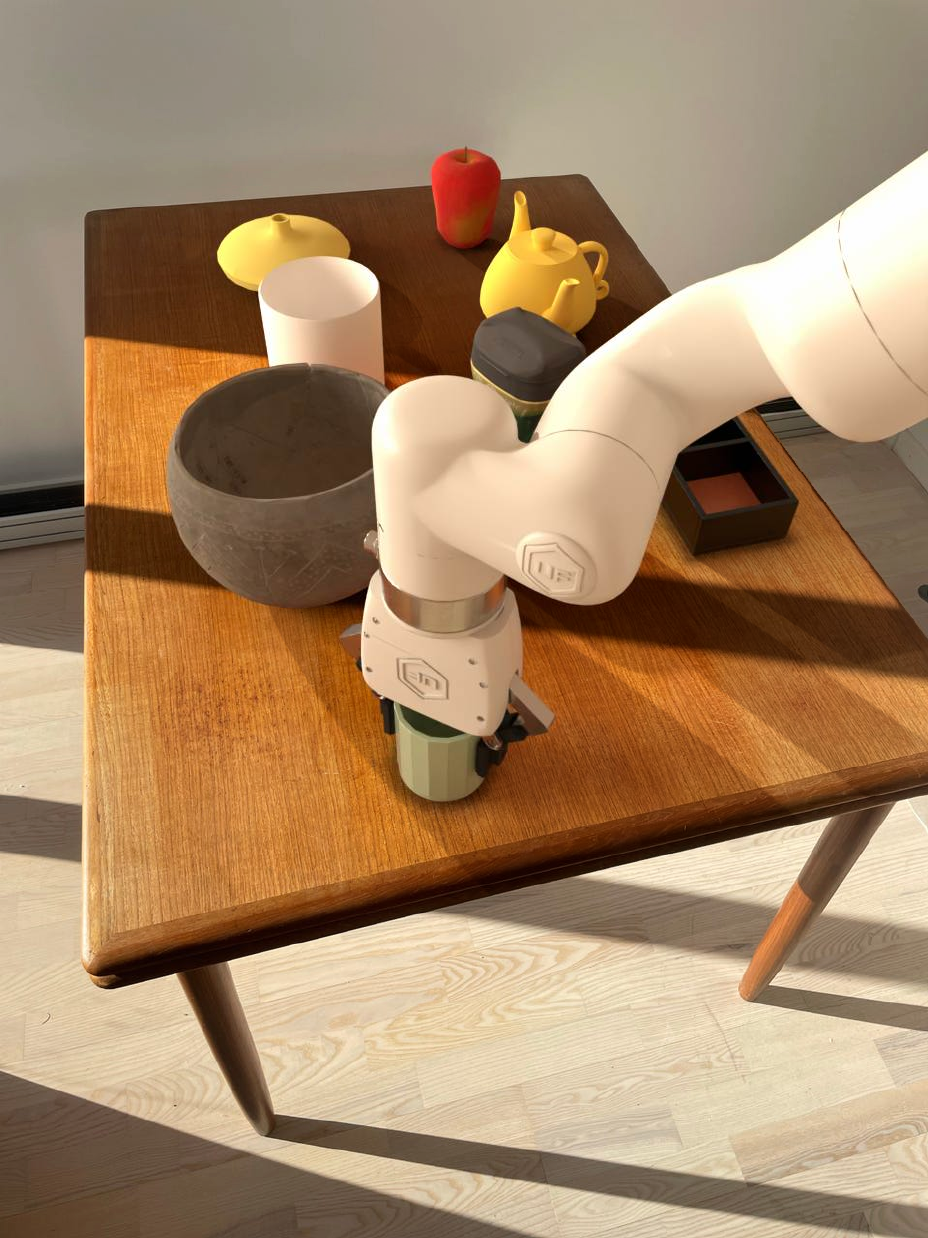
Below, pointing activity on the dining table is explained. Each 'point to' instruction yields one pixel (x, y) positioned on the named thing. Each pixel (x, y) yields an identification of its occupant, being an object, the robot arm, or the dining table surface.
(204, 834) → the dining table surface
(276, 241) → the vase
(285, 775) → the dining table surface
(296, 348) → the cup
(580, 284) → the teapot
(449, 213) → the apple
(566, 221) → the dining table surface
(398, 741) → the sage cup
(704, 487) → the black divided tray
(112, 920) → the dining table surface
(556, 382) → the coffee jar
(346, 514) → the bowl
